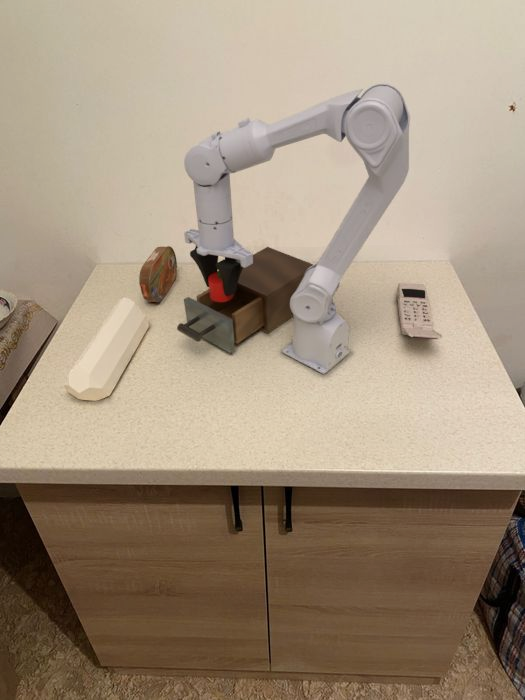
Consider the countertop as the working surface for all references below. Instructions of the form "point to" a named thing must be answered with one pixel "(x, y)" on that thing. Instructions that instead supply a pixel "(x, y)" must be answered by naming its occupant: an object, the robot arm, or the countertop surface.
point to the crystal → (107, 353)
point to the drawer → (223, 318)
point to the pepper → (217, 288)
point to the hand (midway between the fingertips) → (221, 289)
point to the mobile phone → (415, 311)
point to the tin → (158, 274)
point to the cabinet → (273, 284)
